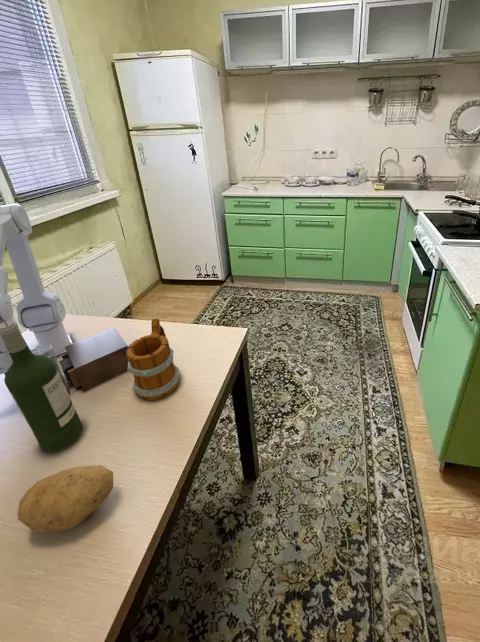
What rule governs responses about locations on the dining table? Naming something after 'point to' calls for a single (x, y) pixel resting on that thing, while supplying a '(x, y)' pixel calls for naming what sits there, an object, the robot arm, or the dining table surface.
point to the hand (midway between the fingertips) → (30, 389)
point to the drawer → (71, 372)
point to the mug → (152, 364)
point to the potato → (65, 498)
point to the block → (66, 367)
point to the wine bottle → (39, 393)
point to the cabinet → (98, 357)
